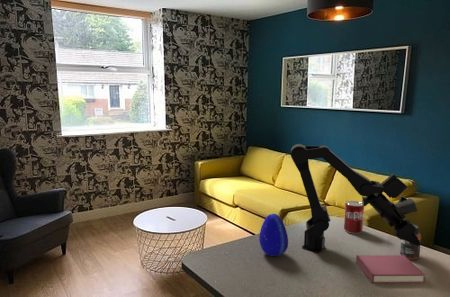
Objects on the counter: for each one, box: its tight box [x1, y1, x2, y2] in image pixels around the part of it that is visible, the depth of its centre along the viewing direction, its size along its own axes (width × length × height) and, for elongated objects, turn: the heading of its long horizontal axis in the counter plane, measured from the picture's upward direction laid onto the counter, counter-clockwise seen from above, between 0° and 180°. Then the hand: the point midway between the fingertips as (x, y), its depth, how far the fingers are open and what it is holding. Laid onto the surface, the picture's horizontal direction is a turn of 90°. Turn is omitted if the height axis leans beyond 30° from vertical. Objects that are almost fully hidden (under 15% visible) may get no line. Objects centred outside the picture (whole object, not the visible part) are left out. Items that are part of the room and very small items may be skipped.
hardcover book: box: [355, 254, 426, 284], centre depth 106 cm, size 16×12×3 cm
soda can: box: [343, 200, 365, 235], centre depth 138 cm, size 7×7×12 cm
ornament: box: [258, 213, 289, 257], centre depth 118 cm, size 11×9×15 cm
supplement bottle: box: [399, 224, 422, 261], centre depth 116 cm, size 6×6×11 cm
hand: (415, 239), depth 116 cm, fingers open, 9 cm apart
